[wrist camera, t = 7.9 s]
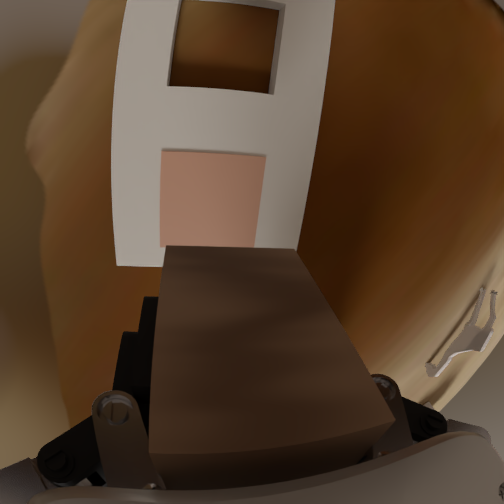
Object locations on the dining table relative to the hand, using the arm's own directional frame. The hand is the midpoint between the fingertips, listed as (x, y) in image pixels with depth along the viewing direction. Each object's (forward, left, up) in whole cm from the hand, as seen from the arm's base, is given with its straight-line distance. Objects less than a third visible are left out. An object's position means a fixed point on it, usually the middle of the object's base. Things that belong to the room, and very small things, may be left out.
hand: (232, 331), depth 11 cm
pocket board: (0, -7, -17) cm, 18 cm away
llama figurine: (-43, +20, -17) cm, 50 cm away
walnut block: (0, 0, -2) cm, 2 cm away
